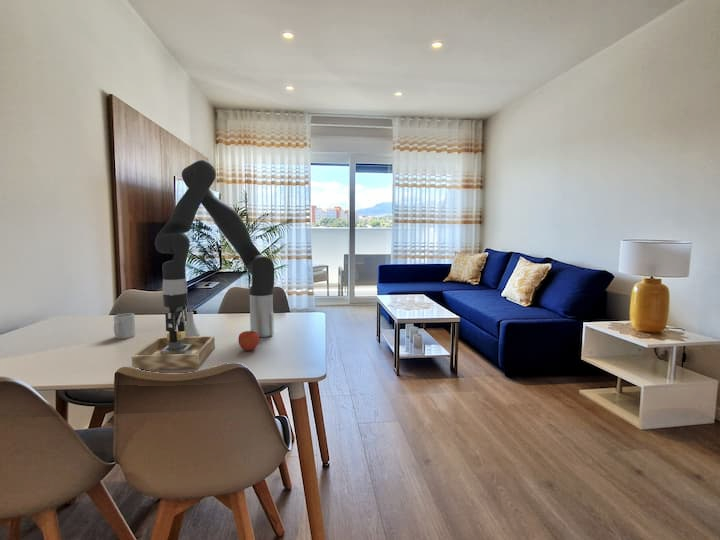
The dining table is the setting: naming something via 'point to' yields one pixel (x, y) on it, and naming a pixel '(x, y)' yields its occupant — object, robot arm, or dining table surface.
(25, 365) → the dining table surface
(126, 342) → the dining table surface
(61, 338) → the dining table surface
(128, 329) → the cup
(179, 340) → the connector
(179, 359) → the walled box
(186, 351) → the frame
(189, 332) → the flask
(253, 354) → the dining table surface
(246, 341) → the apple
